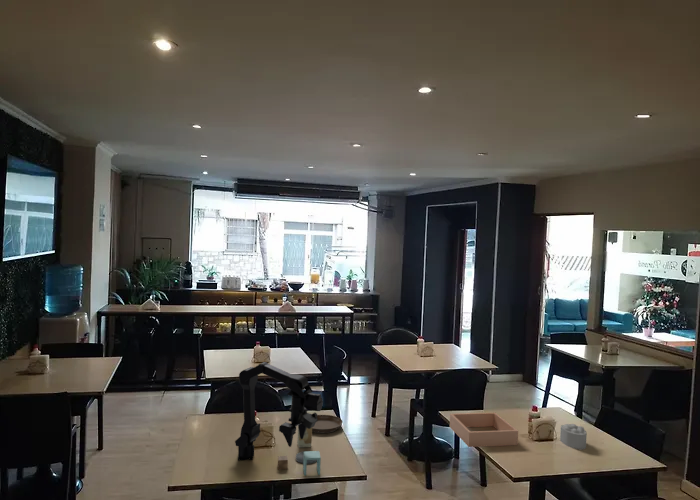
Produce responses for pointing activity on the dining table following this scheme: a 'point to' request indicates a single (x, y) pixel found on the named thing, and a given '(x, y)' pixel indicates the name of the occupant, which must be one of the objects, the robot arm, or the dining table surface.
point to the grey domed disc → (300, 458)
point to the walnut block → (282, 462)
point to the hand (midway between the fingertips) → (295, 442)
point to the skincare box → (305, 439)
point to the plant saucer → (326, 424)
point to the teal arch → (311, 456)
